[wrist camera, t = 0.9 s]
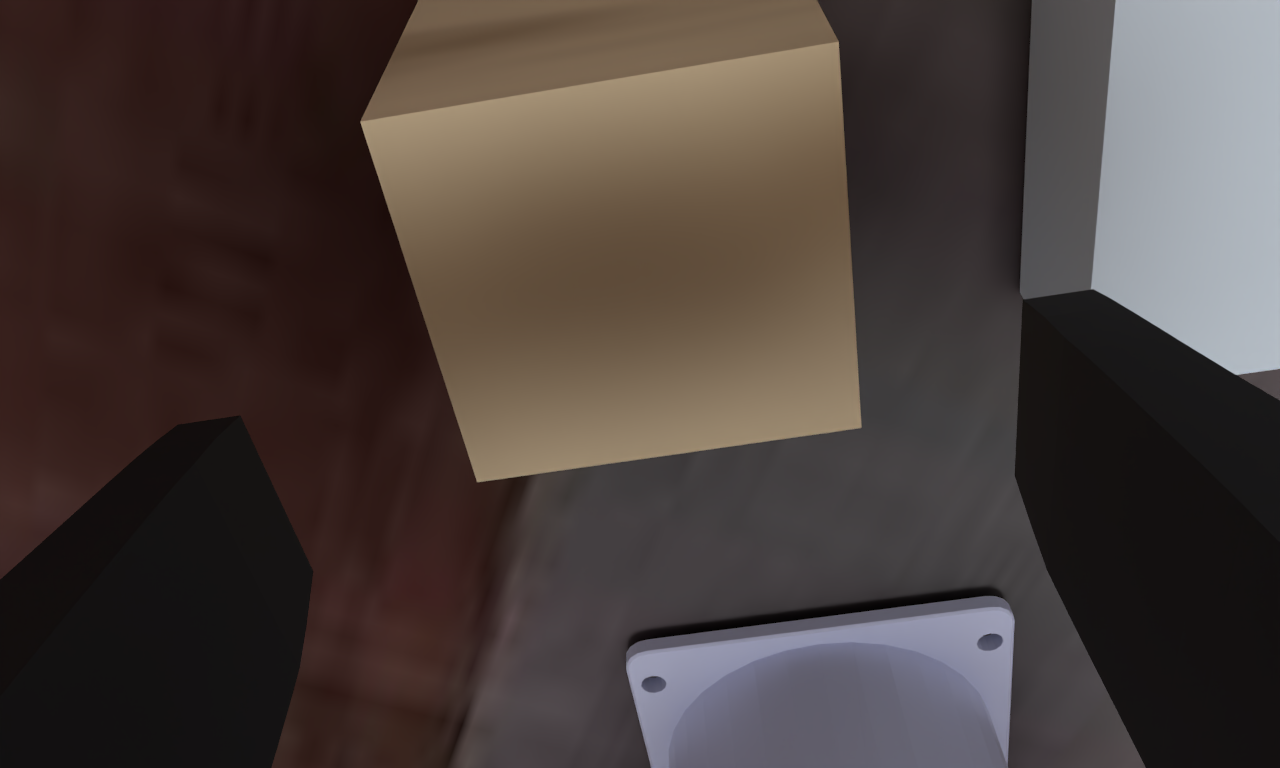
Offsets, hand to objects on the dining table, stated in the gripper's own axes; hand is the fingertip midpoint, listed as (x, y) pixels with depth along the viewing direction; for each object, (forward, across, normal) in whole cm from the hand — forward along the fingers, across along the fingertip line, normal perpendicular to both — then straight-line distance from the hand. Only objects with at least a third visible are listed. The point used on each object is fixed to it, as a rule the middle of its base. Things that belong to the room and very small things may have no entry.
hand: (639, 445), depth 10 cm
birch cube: (+8, 0, 0) cm, 8 cm away
